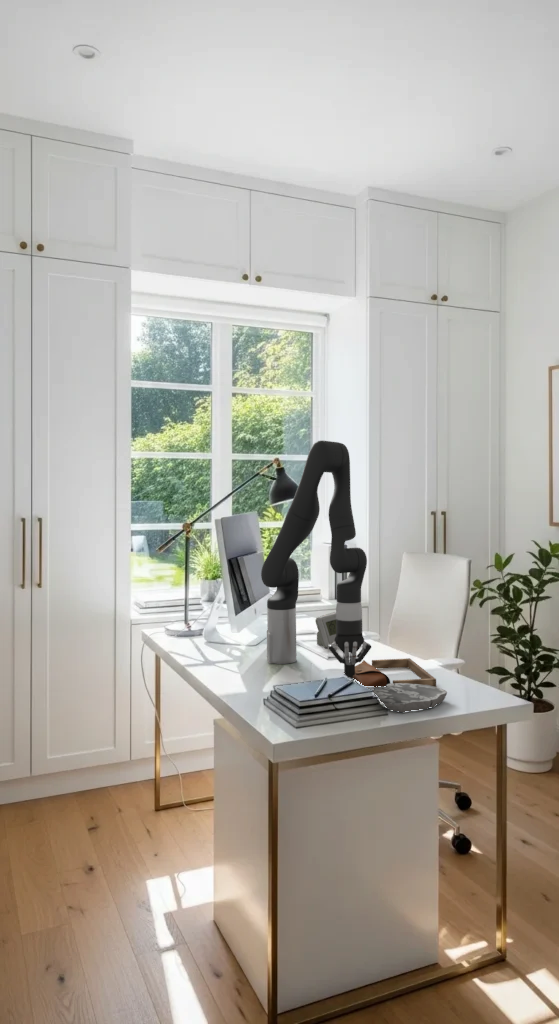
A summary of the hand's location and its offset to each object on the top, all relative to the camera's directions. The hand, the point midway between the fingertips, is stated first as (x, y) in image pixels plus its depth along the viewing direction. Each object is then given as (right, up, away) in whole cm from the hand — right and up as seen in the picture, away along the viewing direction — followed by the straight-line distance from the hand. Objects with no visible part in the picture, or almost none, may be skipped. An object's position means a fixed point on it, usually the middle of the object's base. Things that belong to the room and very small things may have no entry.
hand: (349, 676), depth 205 cm
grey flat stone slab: (+12, -2, -21) cm, 25 cm away
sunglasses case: (+5, -2, +1) cm, 5 cm away
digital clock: (-1, 0, +47) cm, 47 cm away
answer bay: (+16, -1, +2) cm, 16 cm away
